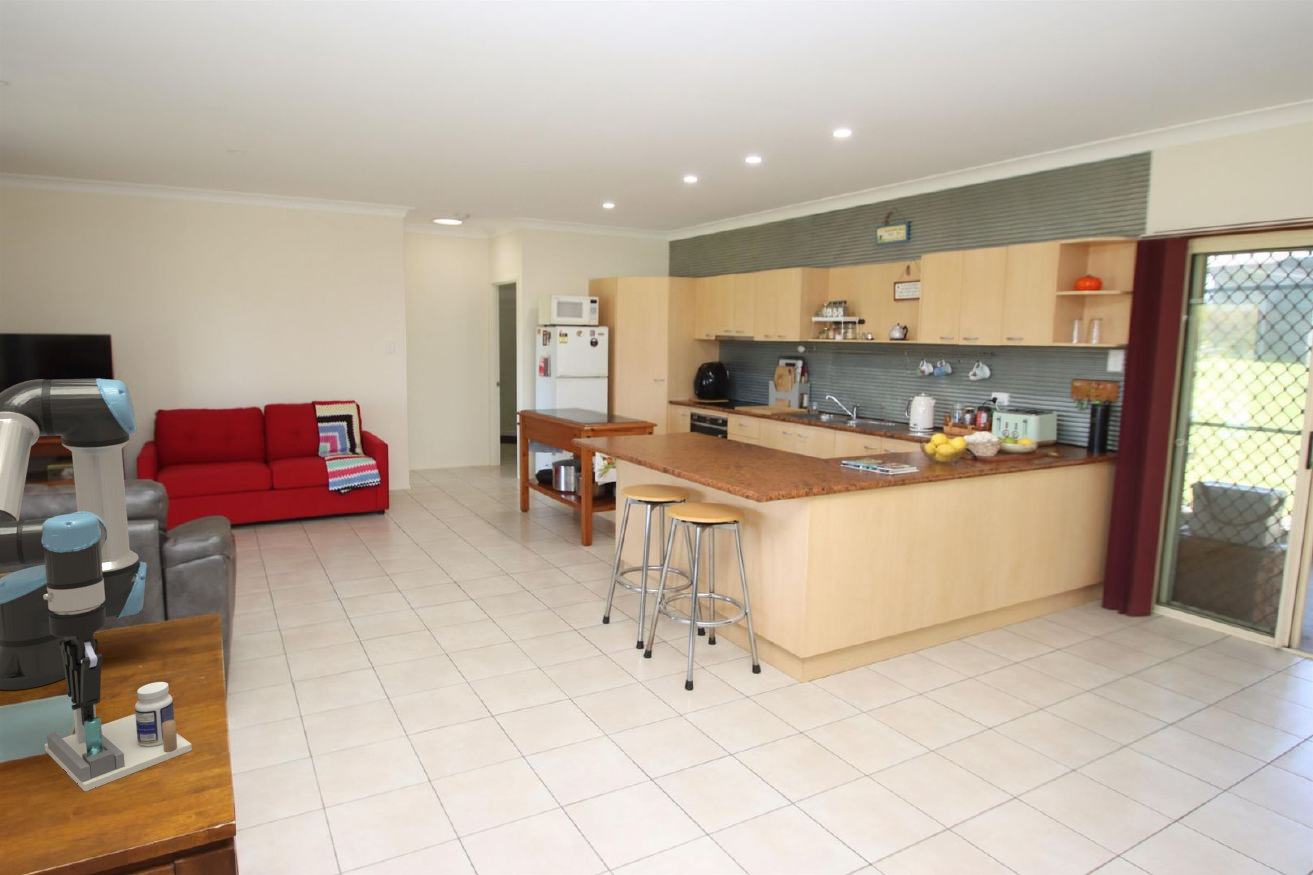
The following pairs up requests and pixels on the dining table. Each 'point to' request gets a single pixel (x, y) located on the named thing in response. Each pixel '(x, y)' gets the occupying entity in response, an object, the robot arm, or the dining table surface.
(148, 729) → the pill bottle
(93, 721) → the pin
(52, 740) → the board
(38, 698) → the dining table surface
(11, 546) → the robot arm
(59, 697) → the dining table surface
